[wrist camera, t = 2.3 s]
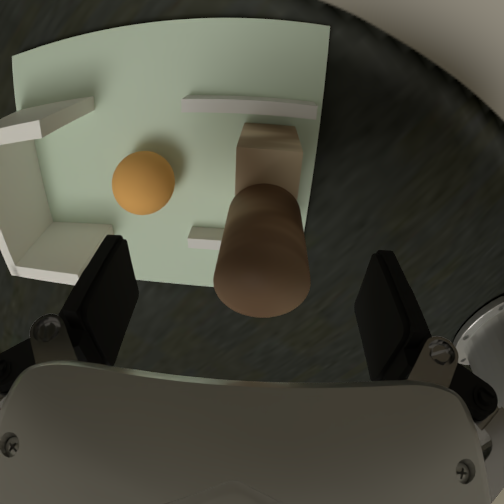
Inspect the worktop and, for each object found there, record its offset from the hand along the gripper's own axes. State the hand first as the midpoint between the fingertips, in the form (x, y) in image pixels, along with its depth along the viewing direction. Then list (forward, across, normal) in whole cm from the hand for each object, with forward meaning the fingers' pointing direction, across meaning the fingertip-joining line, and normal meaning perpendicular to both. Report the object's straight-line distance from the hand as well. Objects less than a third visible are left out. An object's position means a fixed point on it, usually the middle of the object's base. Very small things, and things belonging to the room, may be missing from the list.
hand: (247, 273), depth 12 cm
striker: (+10, -1, 0) cm, 10 cm away
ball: (+8, +7, 0) cm, 11 cm away
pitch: (+11, +7, 0) cm, 13 cm away
